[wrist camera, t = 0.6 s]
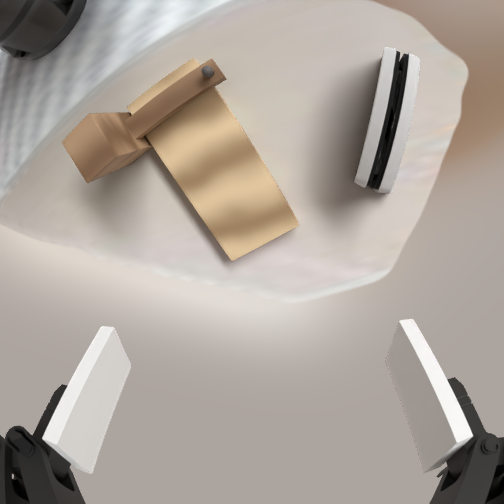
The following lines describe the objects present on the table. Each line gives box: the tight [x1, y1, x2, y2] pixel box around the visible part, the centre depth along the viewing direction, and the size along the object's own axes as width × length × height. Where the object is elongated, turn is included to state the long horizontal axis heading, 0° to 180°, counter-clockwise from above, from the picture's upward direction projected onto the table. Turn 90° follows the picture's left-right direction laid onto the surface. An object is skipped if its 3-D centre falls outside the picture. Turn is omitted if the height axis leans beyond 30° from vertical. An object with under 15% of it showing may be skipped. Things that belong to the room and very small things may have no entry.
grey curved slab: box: [354, 47, 420, 194], centre depth 25 cm, size 17×5×10 cm, turn 169°
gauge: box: [62, 59, 226, 183], centre depth 24 cm, size 5×15×10 cm, turn 121°
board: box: [127, 59, 299, 261], centre depth 30 cm, size 22×9×2 cm, turn 31°
